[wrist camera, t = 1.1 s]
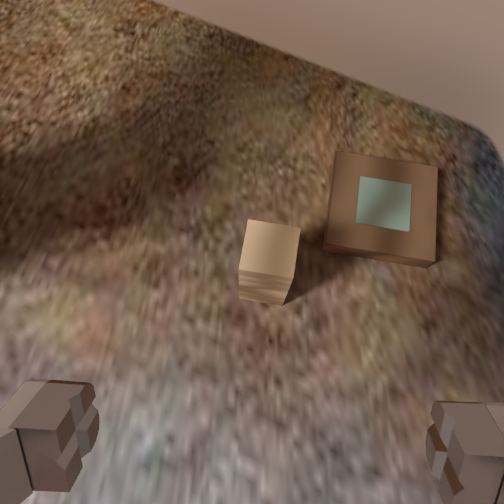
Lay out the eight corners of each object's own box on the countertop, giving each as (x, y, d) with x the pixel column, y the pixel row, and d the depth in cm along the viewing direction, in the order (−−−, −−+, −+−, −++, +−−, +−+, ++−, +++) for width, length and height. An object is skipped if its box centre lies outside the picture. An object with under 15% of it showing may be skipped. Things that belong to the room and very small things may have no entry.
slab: (321, 252, 42) (326, 242, 39) (332, 164, 45) (337, 150, 43) (424, 269, 41) (435, 261, 39) (427, 179, 45) (438, 166, 42)
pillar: (239, 298, 40) (238, 269, 31) (247, 257, 41) (248, 219, 32) (282, 305, 39) (293, 278, 31) (288, 264, 41) (300, 227, 32)
